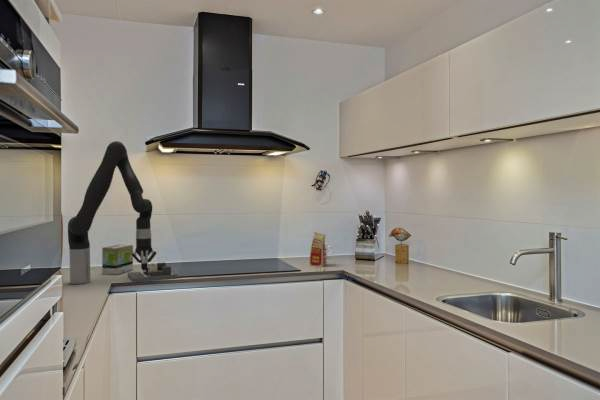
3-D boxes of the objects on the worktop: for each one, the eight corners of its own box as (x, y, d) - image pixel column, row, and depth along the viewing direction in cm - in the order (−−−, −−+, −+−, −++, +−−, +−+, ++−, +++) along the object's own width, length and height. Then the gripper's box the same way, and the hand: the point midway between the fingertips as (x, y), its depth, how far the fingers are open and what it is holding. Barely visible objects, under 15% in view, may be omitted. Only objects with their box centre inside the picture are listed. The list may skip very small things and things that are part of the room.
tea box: (118, 274, 246) (117, 247, 246) (101, 274, 248) (101, 247, 248) (133, 269, 261) (133, 244, 260) (118, 269, 263) (117, 243, 262)
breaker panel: (133, 282, 226) (132, 270, 226) (127, 276, 242) (127, 265, 241) (177, 278, 236) (177, 266, 236) (169, 272, 252) (169, 261, 252)
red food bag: (309, 266, 267) (308, 232, 266) (313, 263, 275) (313, 231, 275) (324, 267, 264) (323, 233, 263) (328, 264, 272) (328, 231, 272)
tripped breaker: (149, 274, 237) (149, 264, 236) (148, 273, 239) (148, 263, 239) (157, 273, 239) (157, 263, 238) (156, 272, 241) (156, 263, 241)
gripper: (155, 235, 243) (156, 267, 243) (129, 237, 236) (130, 270, 237) (158, 237, 236) (158, 270, 237) (131, 238, 230) (132, 272, 230)
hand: (144, 270), depth 237 cm, fingers closed
